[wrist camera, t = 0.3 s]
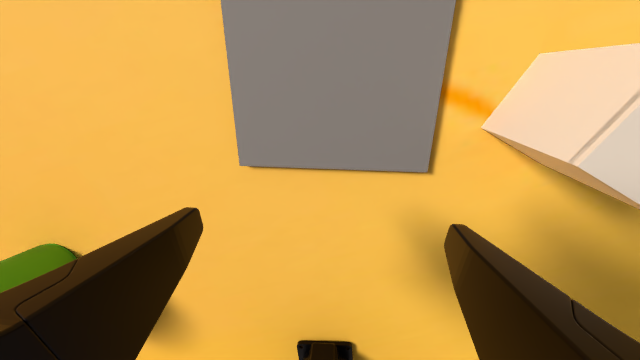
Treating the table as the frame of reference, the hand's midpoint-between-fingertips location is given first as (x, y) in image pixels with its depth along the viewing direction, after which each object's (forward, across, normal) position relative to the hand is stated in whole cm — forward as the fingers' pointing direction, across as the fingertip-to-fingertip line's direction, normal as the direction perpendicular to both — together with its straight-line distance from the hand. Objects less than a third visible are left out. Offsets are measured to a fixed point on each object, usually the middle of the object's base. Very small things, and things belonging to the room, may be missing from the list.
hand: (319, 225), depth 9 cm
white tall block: (+14, -16, -1) cm, 21 cm away
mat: (+14, 0, -4) cm, 15 cm away
